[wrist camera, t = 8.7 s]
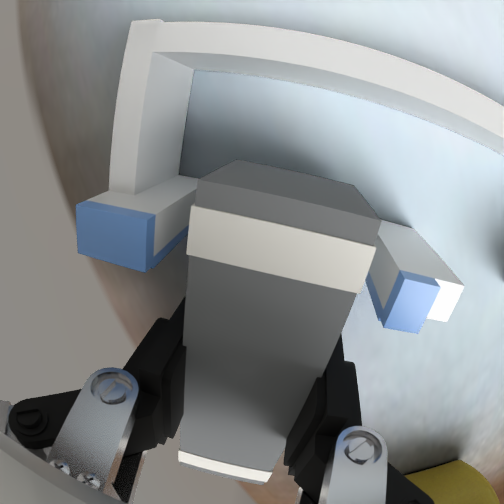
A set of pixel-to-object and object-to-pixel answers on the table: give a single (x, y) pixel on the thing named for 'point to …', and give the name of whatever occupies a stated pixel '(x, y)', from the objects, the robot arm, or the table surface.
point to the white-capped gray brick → (264, 307)
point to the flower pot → (455, 484)
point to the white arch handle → (281, 68)
